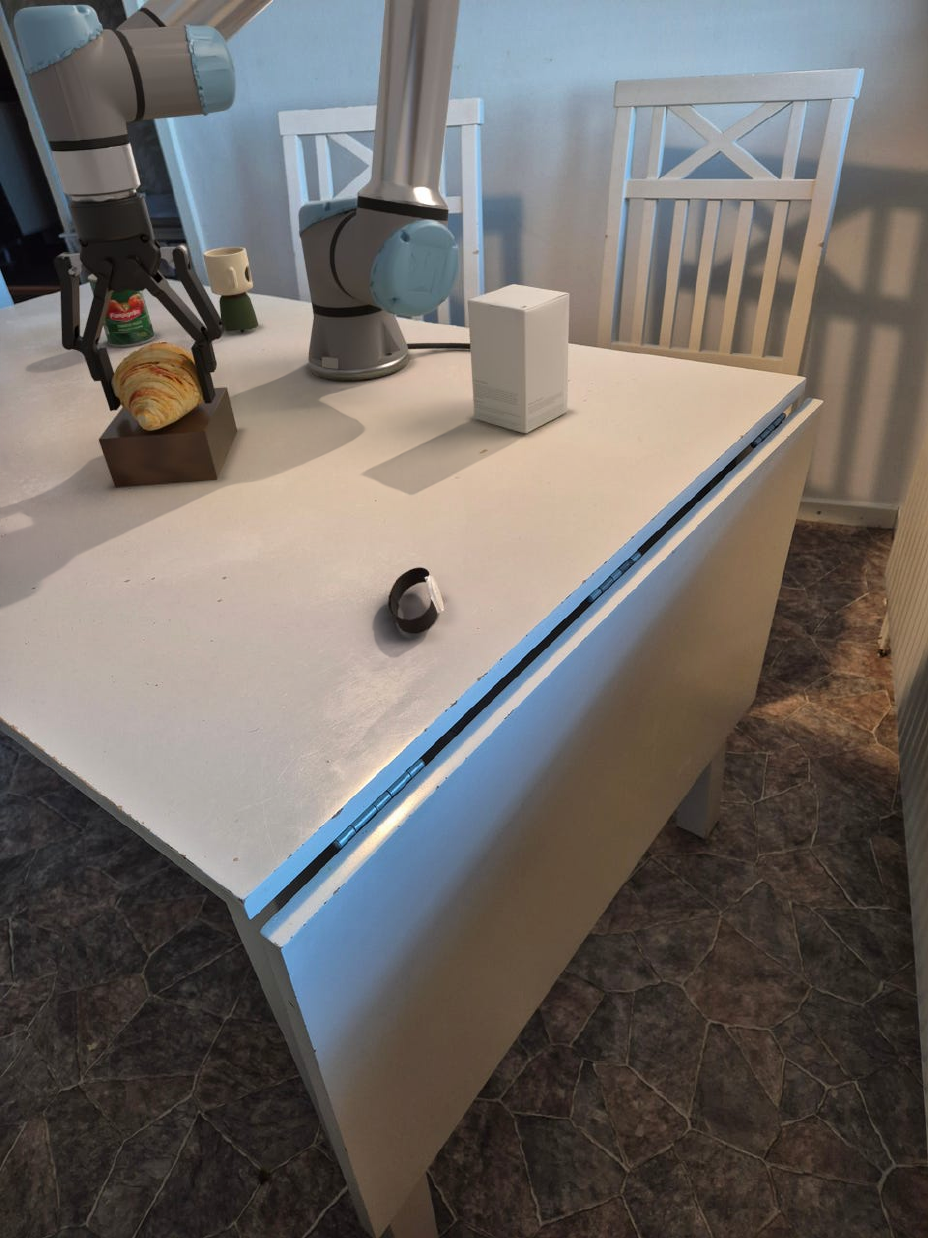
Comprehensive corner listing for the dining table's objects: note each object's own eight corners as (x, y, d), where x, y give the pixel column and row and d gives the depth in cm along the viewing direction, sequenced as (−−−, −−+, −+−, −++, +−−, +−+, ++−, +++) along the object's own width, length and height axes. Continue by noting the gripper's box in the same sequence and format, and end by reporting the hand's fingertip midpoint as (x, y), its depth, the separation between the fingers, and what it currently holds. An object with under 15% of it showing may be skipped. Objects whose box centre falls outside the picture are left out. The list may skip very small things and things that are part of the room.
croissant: (188, 464, 90) (207, 399, 86) (92, 435, 86) (107, 365, 82) (200, 393, 107) (216, 336, 103) (120, 366, 103) (133, 306, 99)
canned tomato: (137, 330, 146) (118, 266, 140) (164, 336, 142) (146, 270, 136) (99, 343, 141) (77, 276, 135) (126, 349, 137) (105, 281, 131)
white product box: (570, 412, 105) (572, 291, 96) (525, 435, 100) (524, 310, 91) (516, 397, 110) (514, 281, 101) (471, 418, 105) (465, 298, 96)
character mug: (267, 334, 140) (251, 254, 132) (225, 341, 138) (207, 260, 130) (256, 319, 148) (240, 242, 140) (216, 325, 146) (198, 248, 138)
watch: (446, 636, 68) (443, 601, 66) (390, 642, 67) (385, 606, 65) (441, 586, 74) (438, 551, 72) (389, 590, 74) (385, 556, 72)
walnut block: (237, 431, 106) (227, 386, 102) (217, 479, 95) (205, 431, 91) (145, 438, 106) (132, 393, 102) (114, 487, 94) (98, 439, 91)
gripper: (223, 180, 86) (264, 384, 99) (6, 196, 86) (77, 398, 99) (209, 192, 80) (255, 407, 93) (-24, 208, 80) (55, 422, 93)
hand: (163, 402), depth 96 cm, fingers closed on croissant, 10 cm apart
